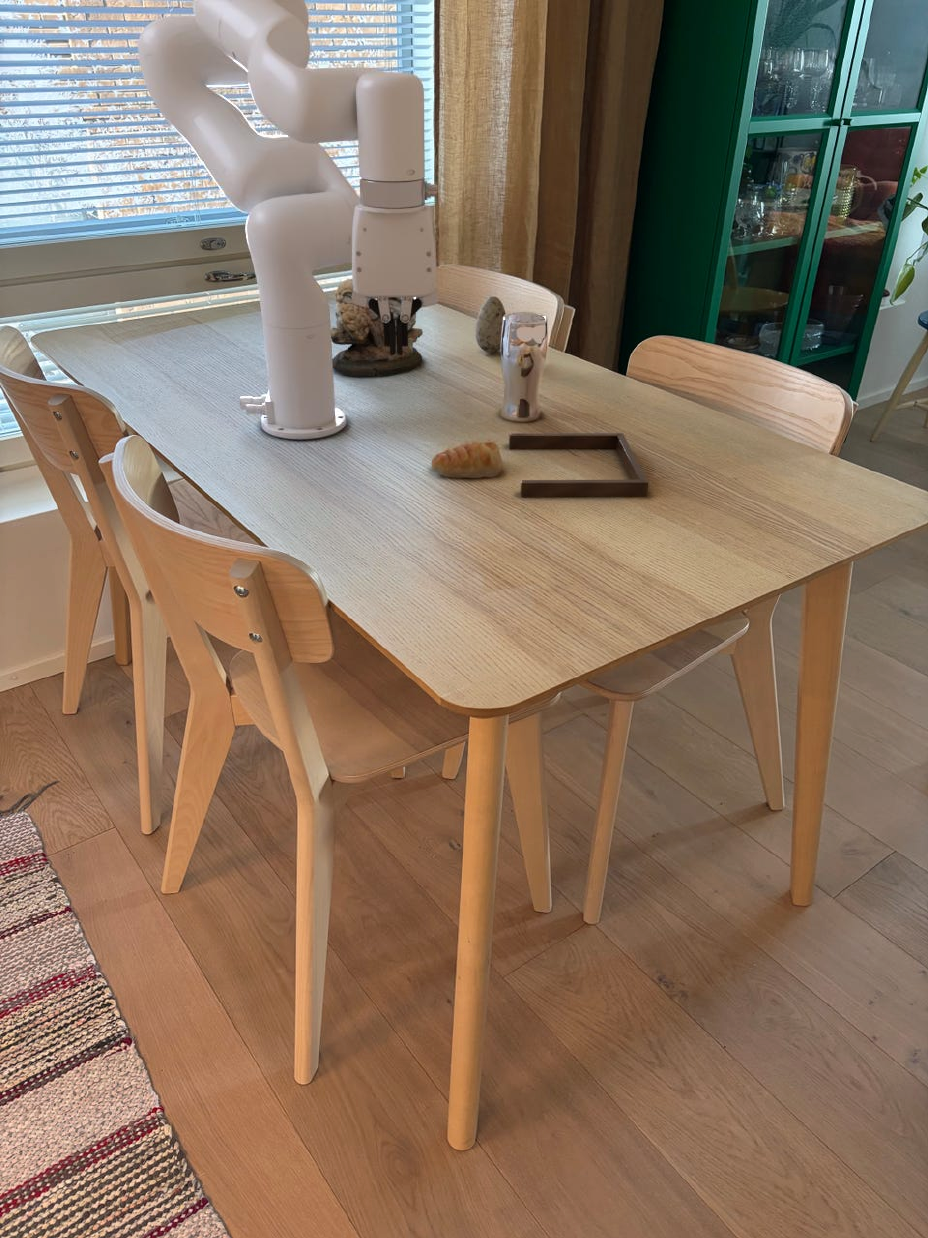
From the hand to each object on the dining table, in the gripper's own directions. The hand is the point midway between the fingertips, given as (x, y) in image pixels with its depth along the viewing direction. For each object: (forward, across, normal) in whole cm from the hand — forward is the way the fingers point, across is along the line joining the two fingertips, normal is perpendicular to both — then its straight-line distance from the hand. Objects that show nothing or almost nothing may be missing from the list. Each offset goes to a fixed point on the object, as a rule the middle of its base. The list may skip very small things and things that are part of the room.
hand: (396, 351), depth 121 cm
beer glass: (+16, -19, -21) cm, 33 cm away
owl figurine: (+16, +4, -45) cm, 48 cm away
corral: (+16, -24, 0) cm, 29 cm away
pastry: (+17, -10, 0) cm, 19 cm away
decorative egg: (+16, -17, -53) cm, 58 cm away
